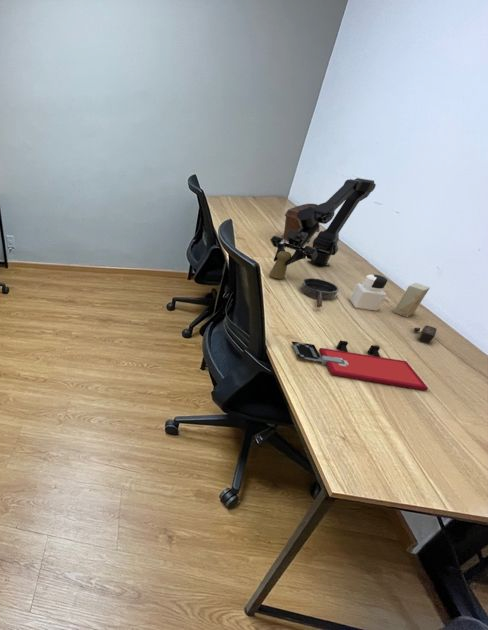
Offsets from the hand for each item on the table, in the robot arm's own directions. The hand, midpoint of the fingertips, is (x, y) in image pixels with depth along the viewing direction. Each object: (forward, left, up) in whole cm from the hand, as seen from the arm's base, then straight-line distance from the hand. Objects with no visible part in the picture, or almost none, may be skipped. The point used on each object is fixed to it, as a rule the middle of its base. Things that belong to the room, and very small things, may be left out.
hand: (279, 263), depth 146 cm
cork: (-1, 0, -6) cm, 7 cm away
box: (-25, +36, -7) cm, 44 cm away
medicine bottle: (-16, +28, -7) cm, 33 cm away
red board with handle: (+19, +55, -7) cm, 58 cm away
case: (-47, -40, -7) cm, 62 cm away
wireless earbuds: (-16, +49, -7) cm, 52 cm away
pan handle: (+1, +24, -5) cm, 25 cm away
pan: (-7, +16, -7) cm, 19 cm away
